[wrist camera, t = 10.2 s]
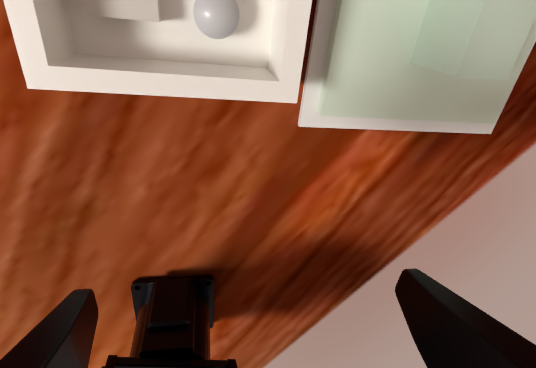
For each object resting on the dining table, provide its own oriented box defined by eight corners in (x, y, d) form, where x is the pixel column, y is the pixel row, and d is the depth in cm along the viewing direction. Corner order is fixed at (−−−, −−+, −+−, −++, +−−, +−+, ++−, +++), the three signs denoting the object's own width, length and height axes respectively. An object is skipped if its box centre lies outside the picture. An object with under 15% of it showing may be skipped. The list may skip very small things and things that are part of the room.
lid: (485, 119, 23) (547, 146, 19) (316, 111, 20) (344, 140, 16) (596, -121, 16) (727, -161, 12) (369, -179, 14) (439, -255, 10)
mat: (486, 132, 24) (490, 133, 23) (297, 124, 21) (299, 126, 20) (615, -139, 16) (623, -142, 16) (350, -213, 13) (353, -218, 13)
